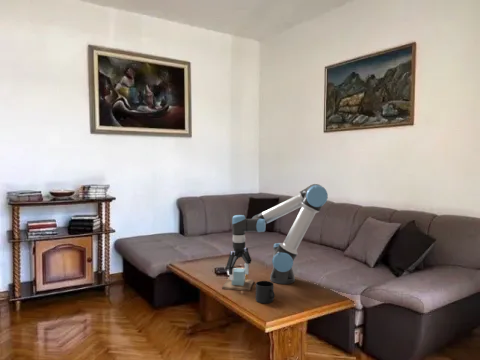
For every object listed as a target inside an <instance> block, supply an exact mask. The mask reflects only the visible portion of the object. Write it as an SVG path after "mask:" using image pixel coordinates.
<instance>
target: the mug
mask: <svg viewBox="0 0 480 360" xmlns="http://www.w3.org/2000/svg"><path fill="white" fill-rule="evenodd" d="M274 284H275V283H274V282H272V281H268V280H261V281H257V282H256V283H255V301H256V302H257V303H259V304H271V303H273V302H274V298H275V296H276V295H275V294H276V293H275V292H274V288H275V287H274Z"/></svg>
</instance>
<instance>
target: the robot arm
mask: <svg viewBox="0 0 480 360" xmlns="http://www.w3.org/2000/svg"><path fill="white" fill-rule="evenodd" d="M327 201H328V191H327V189H325V187H324V186H323V185H320V184H318V183H317V184H316V183H314V184H310V185H309V186H307V187H306V188H304V189H302V190H301V191H299V192H298V194H296V195H294V196H292V197H290V198H288V199H286V200H285V201H282V202H281V203H278V204H276V205H274V206H272V207H270V208H268V209H267V210H264V211H262V212H260V213H258V214H255V215H253V216H252V218H246V216H245V215H244V214H236V215H233V216H232V220H231V221H232V223H231V225H232V249H233V251H229V256H228V260H227V263H226V265H225V268H226V269H228V275H229V278H230V280H234V268H235V267H234V266H235V265H236V262H237V260H238V259H239V258H242V260H243V261H244V267H243V269H245V275H250V271H249V270H250V264H251V263H252V258H251V255H250V253H249V248H248V247H246V232H248V233H249V232H250V233H265V231H266V225H267V224H269V223H271V222H273V221H275V220H277V219H280V218H282V217H283V216H285V215H287V214H290V213H292V212H293V211H295V210H298V209H299V211H298V213H297V216H296V218H295V220H294V221H293V224H292V225H291V228H290V229H289V230H288V233H287V236H285V238H284V240H283V242H277V243H274V244H273V256H272V260H271V261H272V266H273V267H272V270H271V273H270V276H269V277H270V278H269V279H270V282H272V283H273V284H279V285H289V284H293V283H295V281H296V277H295V273H294V269H293V266H294V261H295V260H296V258H297V255H298V254H299V252H298V248H299V246H300V244H301V242H302V240H303V238H304V237H305V234H306V232H307V231H308V229H309V227H310V226H311V223H312V222H313V220H314V217H315V215H316V214H317V213H320V211H321V210H322V208H323V206H324V205H325V204H326V202H327Z"/></svg>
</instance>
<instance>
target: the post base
mask: <svg viewBox="0 0 480 360" xmlns="http://www.w3.org/2000/svg"><path fill="white" fill-rule="evenodd" d="M254 282H255V279H246V278H245V283H244V285H243V286H241V285H232V280H230V277H229V278H227V279H226V281H224V283H223V285H222V287H221V290H232V291H245V292H246V291H247V292H250V291H251V290H252V289H251V288H252V287H253V285H254Z"/></svg>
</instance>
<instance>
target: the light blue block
mask: <svg viewBox="0 0 480 360" xmlns="http://www.w3.org/2000/svg"><path fill="white" fill-rule="evenodd" d="M233 269H234V280H232V285H241V286H243V285H244V283H245V279H246V274H245V268H240V267H239V268H238V267H237V268H236V267H233Z"/></svg>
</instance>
